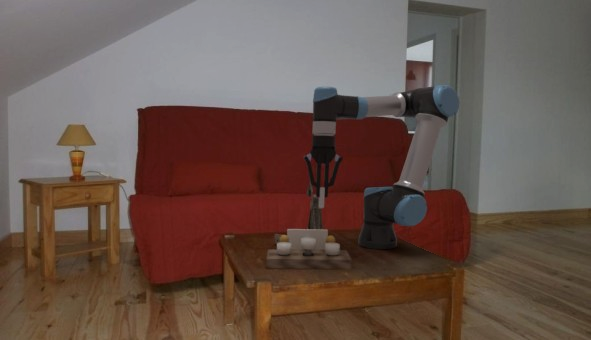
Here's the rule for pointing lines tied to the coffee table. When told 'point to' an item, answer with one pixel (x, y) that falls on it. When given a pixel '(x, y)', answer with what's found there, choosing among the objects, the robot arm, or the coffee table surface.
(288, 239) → the card
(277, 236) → the stone
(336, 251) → the button
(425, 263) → the coffee table surface
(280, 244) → the button
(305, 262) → the board
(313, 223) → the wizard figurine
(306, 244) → the button
